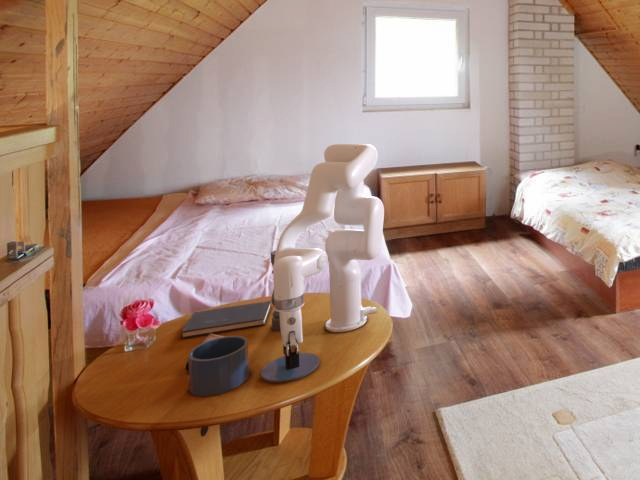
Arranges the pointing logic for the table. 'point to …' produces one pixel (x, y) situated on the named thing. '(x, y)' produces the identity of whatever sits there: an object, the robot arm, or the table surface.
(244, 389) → the table surface
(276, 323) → the candle holder
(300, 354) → the lid
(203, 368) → the blue pot
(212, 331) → the hardcover book
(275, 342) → the table surface
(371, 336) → the table surface
